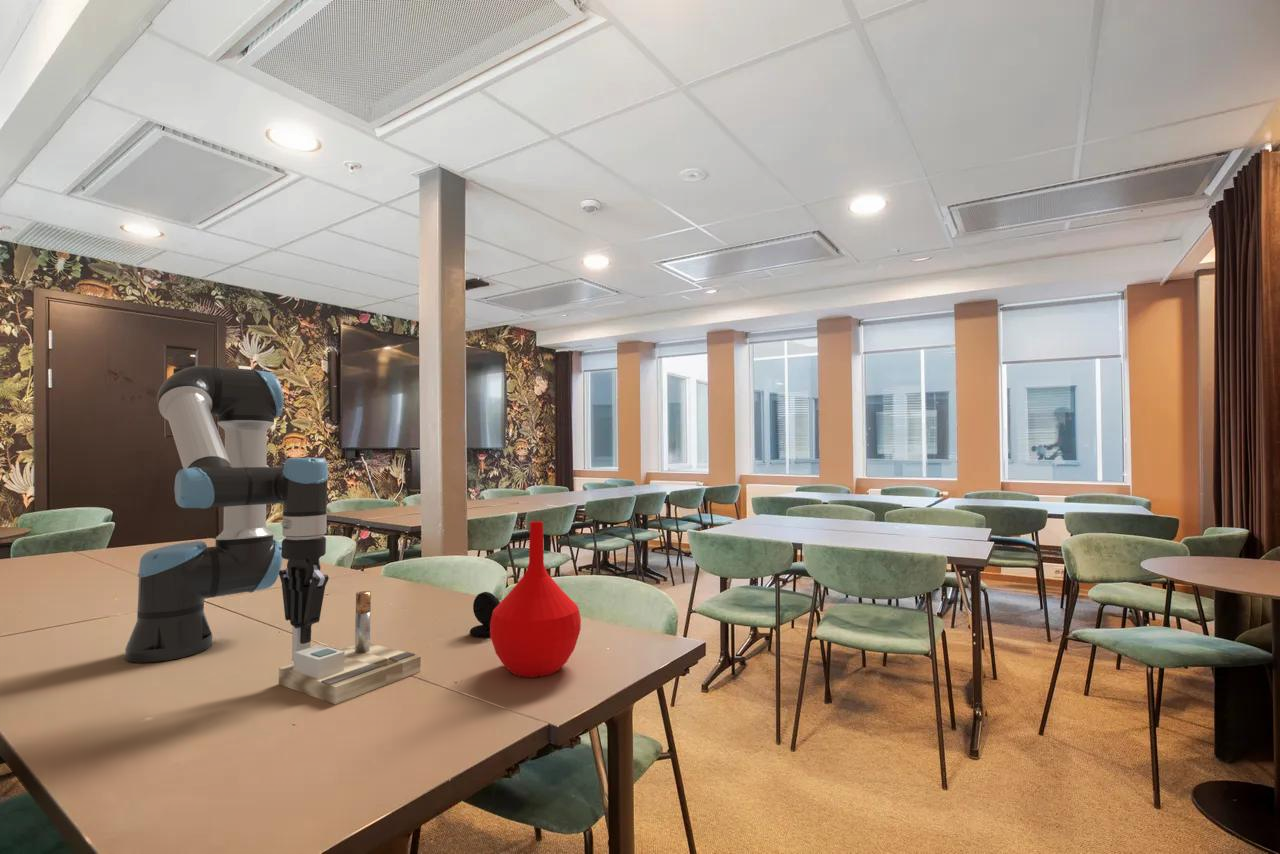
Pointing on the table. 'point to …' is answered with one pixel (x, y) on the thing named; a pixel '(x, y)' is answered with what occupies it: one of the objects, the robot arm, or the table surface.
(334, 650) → the block
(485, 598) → the webcam
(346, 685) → the panel
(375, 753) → the table surface
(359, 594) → the silver and copper cylinder
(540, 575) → the vase
